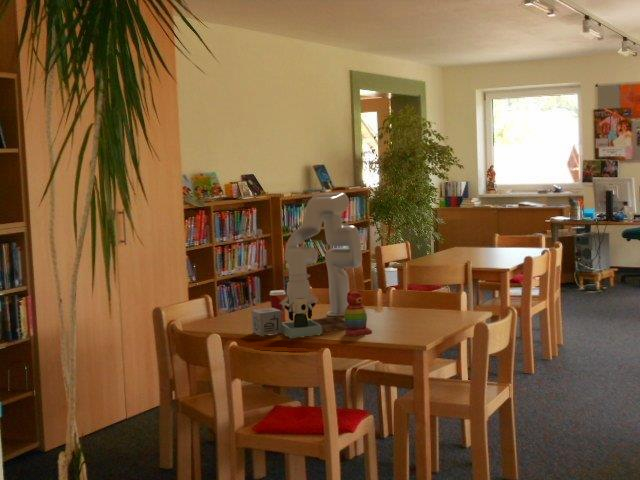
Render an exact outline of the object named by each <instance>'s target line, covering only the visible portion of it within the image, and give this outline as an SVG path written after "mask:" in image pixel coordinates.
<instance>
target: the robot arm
mask: <svg viewBox="0 0 640 480" xmlns="http://www.w3.org/2000/svg"><path fill="white" fill-rule="evenodd" d="M349 204H350V201H349V197H348V195H347V194H346V193H345V192H323V193H317V194H314V195H313V196H311V199H309V200H308V202H307V205H306V208H305V212H304V216H303V221H302V224H301V225H300V226H299V227H298V228H297V229H296V230H295V231H294V232H293V233H292V234H291V235H290V236H289V238H288V240H287V242H286V246H285V251H284V261H286V263H287V264H288V279H289V280H288V282H287V284H286V296H285V299H284V300H283V301H282V302H281V304H282V305H283V306H284V308H285V310H287V311H288V319H289V320H290V322H294V313H293V312H292V309H293V304H294V299H303V298H307V303H308V305H307V306H308V312H307V313H306V314H307V319H308V320H312V317H313V309H314V307H315V305H316V304H317V303H318V302H319V298H317V297H316V296H314V295H313V294H312V290H311V285H310V282H309V281H310V280H309V278H311V274H309V273H307V265H312V264H314V263H315V262H317V260H318V258H319V253H318V250H317V249H316V248H315V247H313V246H299V245H300V244H301V243H302V242H304V241H306V240H307V239H309V238H313V237H314V236H316V235H318V234H319V233H320V232H321V229H322V225H323V226H324V229H323V230H324V234H325V235H324V236H325V241H326V243H327V245H328V246H331V247H333V248H330V249H328V250H327V251H326V252H325V255H324V259H325V265H326V268H327V269H326V270H327V278H328V292H329V293H328V294H329V311H327V312H326V315H327V316H328V317H329V316H330V317H345V310H346V308H347V306H348V305H349V304H348V302H347V293H348V292H350V283H349V281H350V280H349V275H348V273H347V272H346V270H345V269H357V268H360V267H361V265H362V263H363V253H362V243H361V237H360V236H361V235H360V232H359V229H358V227H356V226H355V225H344V224H343V221H342V215H341V214H342V213H344V212H346V210H347V209H348V207H349ZM286 303H287V304H286Z"/></svg>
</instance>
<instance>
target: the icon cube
mask: <svg viewBox="0 0 640 480" xmlns="http://www.w3.org/2000/svg"><path fill="white" fill-rule="evenodd" d="M251 323H252V324H251V325H252V333H253V332H254V333H257V334H259V335H260V336H259V337H261V336H262V337H264V336H263V335H268V334H275V333H283V329H282V323H283V322H282V312H281V310H278V309H275V308H271V307H269V308H267V307H266V308H261V309H259V308H258V309H253V310H251ZM254 333H253V334H254Z"/></svg>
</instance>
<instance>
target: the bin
mask: <svg viewBox="0 0 640 480" xmlns="http://www.w3.org/2000/svg"><path fill="white" fill-rule="evenodd" d="M307 320H308V325H307V327H302V328H298V327H294V321H289V322H287V321H286V322H282V329H283V333H284V334H286V335H287V336H288V337H289V339H298V338H297V337H301V338H303V337H302V336H309V337H311V336H310V335H318V334H322V335H323V332H322V325H323V324H321V325H320V324H318V323H316V322H314V321H313V319H307ZM284 334H283V335H284ZM286 335H285V336H286ZM287 336H286V337H287ZM318 336H319V335H318Z"/></svg>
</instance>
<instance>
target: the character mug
mask: <svg viewBox="0 0 640 480" xmlns="http://www.w3.org/2000/svg"><path fill="white" fill-rule="evenodd" d="M307 305H308V303H307V298H303V299H294V304H293V309H292V312H293V314H294V315H293V322H294V327H298V328H302V327H307V325H308V320H309V319H308V313H307V312H308V306H307Z"/></svg>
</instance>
